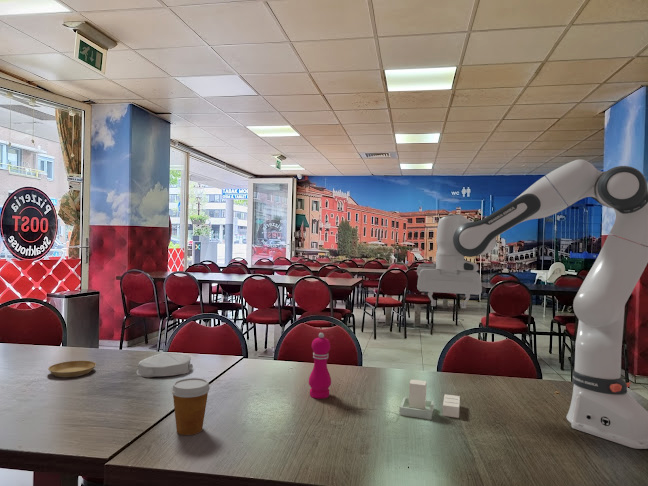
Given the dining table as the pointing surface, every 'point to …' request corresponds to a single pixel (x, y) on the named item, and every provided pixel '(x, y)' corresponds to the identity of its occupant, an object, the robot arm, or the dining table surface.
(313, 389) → the pepper mill
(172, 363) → the food container
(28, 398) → the dining table surface
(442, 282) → the robot arm
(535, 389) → the dining table surface
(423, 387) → the stub
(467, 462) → the dining table surface
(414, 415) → the stub tray
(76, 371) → the plant saucer
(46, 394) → the dining table surface
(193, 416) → the disposable coffee cup
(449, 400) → the white grooved block
